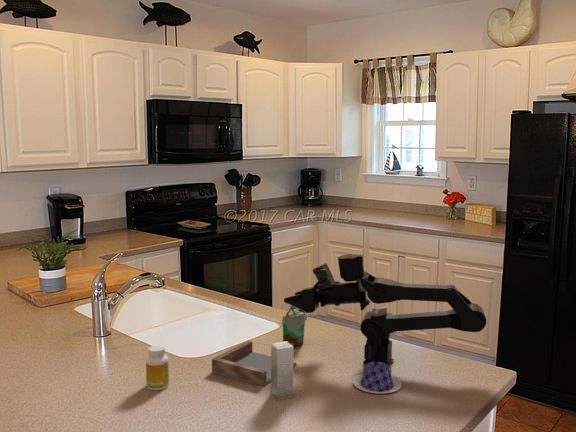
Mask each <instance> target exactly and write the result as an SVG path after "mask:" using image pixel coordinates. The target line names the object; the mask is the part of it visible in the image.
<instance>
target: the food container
mask: <svg viewBox="0 0 576 432" xmlns="http://www.w3.org/2000/svg"><path fill="white" fill-rule="evenodd" d="M289 306H290V307H289V311H287V312H286V314H285V315H284V316H282V321H281V322H282V342H285V341H287V342H288V343H290V344H291V345H292V346H293V347H294V349H298V348H300V347H302V346H303V345H304V338H305V326H306V321H307V320H308V313H306V312H305V311H304V310H302V309H299V308H297V307H295V306H292V305H290V304H289Z"/></svg>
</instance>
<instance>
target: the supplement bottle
mask: <svg viewBox="0 0 576 432" xmlns="http://www.w3.org/2000/svg"><path fill="white" fill-rule="evenodd" d="M147 350H148V351H147V353H148V356H147V357H146V358H145V376H146V378H145V384H146V388H147V389H149V390H151V391H161V390H164V389H166V388H168V386H169V385H170V374H169V372H170V371H169V365H170V364H169V357H168V355H167V354H166V347H165V346H164V345H152V346H150V347H148V349H147Z"/></svg>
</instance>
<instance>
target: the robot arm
mask: <svg viewBox="0 0 576 432" xmlns="http://www.w3.org/2000/svg"><path fill="white" fill-rule="evenodd" d="M337 263H338V268H339V269H338V270H339V275H340V279H342V280H343V281H344V282H340V281H339V280H336V281H335V279H334V276H333V274H332V271H331V270H330V267H329V265H328V264H327V263H322V264H320V265H319V266H317V267H315V268H313V269H312V273H313V275H314V276H315V278H316V280H317V282H316V283H315V284H314V285H313V286H312V287H310V286H309V287H305V288H303V289H302V290H300V291H297V292H295V293H294V295H291V296H288V297H284V298H283V302H284V303H285V304H288V305H289V306H290V305H292V306H295V307H297V308H299V309H302V310H304V311H305V312H306V313H307V314H309V313H310V314H311V313H314V312H315V311H317V310H318V309H319V308H322V307H323V308H325V307H326V306H333V305H334V306H335V307H339V306H341V305H348V304H349V305H351V304H359V307H360V311H361V312H363V311H364V310H365V309H366V307H367V306H369V305H370V303H371V302H372V303H373V304H378V305H379V304H388V303H393V302H397V301H416V302H417V301H419V302H439V303H440V302H442V303H447V304H448V305H449V306H450V308H451V309H449V310H441V311H427V312H416V313H413V312H412V313H403V314H401V313H400V314H392V313H390V312H388V308H387V307H384V308H379V309H378V308H377V309H376V308H372V310H370V311H368V312H366V313H365V314H364V316H363V319H362V321H361V323H360V327H359V329H360V332H361V333H362V335H363V336H364V337H365V338H366V342H365V343H364V353H363V358H364V360H363V361H362V363H363V364H365V365H366V364H367V363H370V362H381V363H385V364H387V365H388V366H389V365H391V364H392V363H393V362H394V360H395V359H394V358H392V356H393V355H392V351H393V349H392V348H393V341H392V340H390V337H391V334H393V333H396V332H408V331H424V330H438V329H439V330H440V329H454V330H457V331H461V332H465V333H466V332H469V333H479V332H482V331H483V330H484V328H485V327H486V326H487V317H486V314H485V311H484V309H483V308H482V307H483V306H481V305H479V304H478V303H473V302H472V301H471V300H470V299H469V298H468V297H466V296H465V295H464V293H462V292H461V291H460V290H458V288H457V287H456V286H455V285H453V284H443V285H442V284H424V283H423V284H421V283H420V284H419V283H402V282H399V281H396V280H392V279H388V278H384V277H379V276H378V277H376V276H374V275H373V274H371V273H369V272H368V271H365V265H364V255H363V254H352V253H348V254H343V255H340V256H338V257H337Z"/></svg>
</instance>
